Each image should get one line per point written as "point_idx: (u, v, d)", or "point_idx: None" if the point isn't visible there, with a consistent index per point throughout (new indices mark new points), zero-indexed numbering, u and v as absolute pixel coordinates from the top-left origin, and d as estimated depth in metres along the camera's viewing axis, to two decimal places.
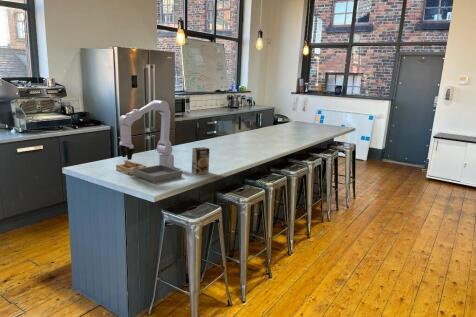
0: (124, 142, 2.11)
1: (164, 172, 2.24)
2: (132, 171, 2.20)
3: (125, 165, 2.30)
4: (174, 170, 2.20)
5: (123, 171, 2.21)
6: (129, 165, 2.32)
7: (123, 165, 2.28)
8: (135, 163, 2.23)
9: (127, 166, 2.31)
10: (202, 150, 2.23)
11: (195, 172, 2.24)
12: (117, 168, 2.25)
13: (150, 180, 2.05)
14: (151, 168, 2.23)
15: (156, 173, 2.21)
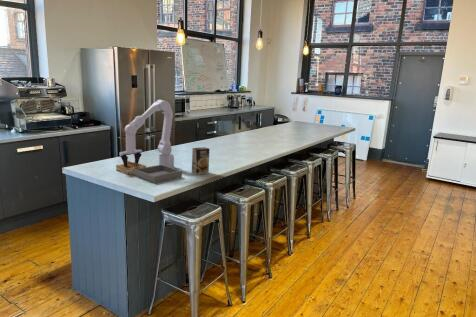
0: None
1: (164, 172, 2.24)
2: (132, 171, 2.20)
3: None
4: (174, 170, 2.20)
5: (123, 171, 2.21)
6: (129, 165, 2.32)
7: (123, 165, 2.28)
8: (135, 163, 2.23)
9: (127, 166, 2.31)
10: (202, 150, 2.23)
11: (195, 172, 2.24)
12: (117, 168, 2.25)
13: (150, 180, 2.05)
14: (151, 168, 2.23)
15: (156, 173, 2.21)
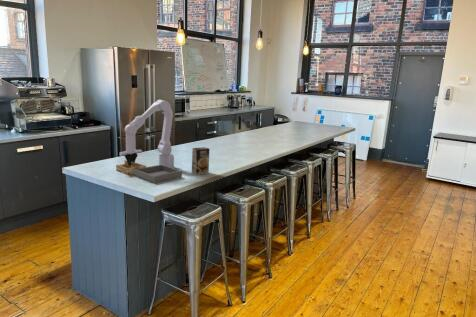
0: None
1: (164, 172, 2.24)
2: (132, 171, 2.20)
3: (125, 165, 2.30)
4: (174, 170, 2.20)
5: (123, 171, 2.21)
6: None
7: (123, 165, 2.28)
8: (135, 163, 2.23)
9: (127, 166, 2.31)
10: (202, 150, 2.23)
11: (195, 172, 2.24)
12: (117, 168, 2.25)
13: (150, 180, 2.05)
14: (151, 168, 2.23)
15: (156, 173, 2.21)
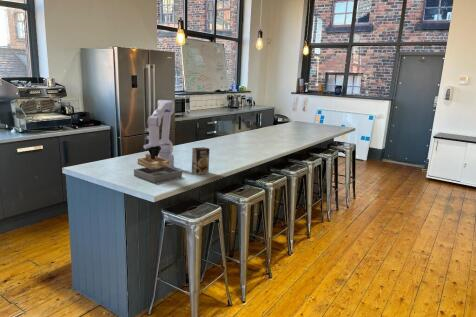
0: (149, 142, 2.13)
1: (164, 172, 2.24)
2: (156, 166, 2.11)
3: (146, 159, 2.19)
4: (174, 170, 2.20)
5: (147, 166, 2.11)
6: (150, 159, 2.21)
7: (144, 159, 2.18)
8: (159, 158, 2.13)
9: (148, 160, 2.20)
10: (202, 150, 2.23)
11: (195, 172, 2.24)
12: (139, 162, 2.14)
13: (150, 180, 2.05)
14: None
15: (156, 173, 2.21)
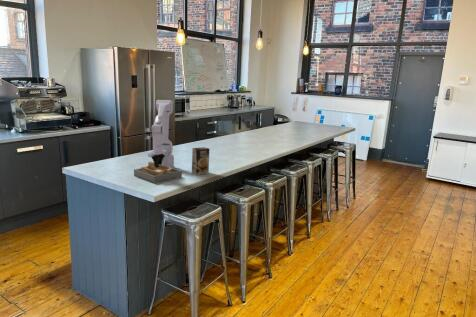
0: (153, 150, 2.13)
1: None
2: None
3: (149, 167, 2.18)
4: (174, 170, 2.20)
5: (151, 174, 2.10)
6: (152, 167, 2.21)
7: (147, 167, 2.17)
8: (163, 166, 2.14)
9: (150, 168, 2.20)
10: (202, 150, 2.23)
11: (195, 172, 2.24)
12: (143, 170, 2.13)
13: (150, 180, 2.05)
14: None
15: None
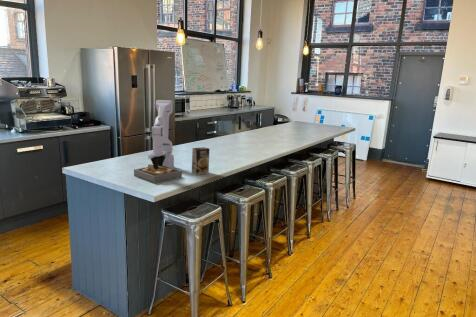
0: (153, 151, 2.13)
1: None
2: None
3: (149, 169, 2.19)
4: (174, 170, 2.20)
5: None
6: (152, 169, 2.21)
7: (147, 170, 2.17)
8: (163, 167, 2.14)
9: (150, 170, 2.20)
10: (202, 150, 2.23)
11: (195, 172, 2.24)
12: None
13: (150, 180, 2.05)
14: None
15: None
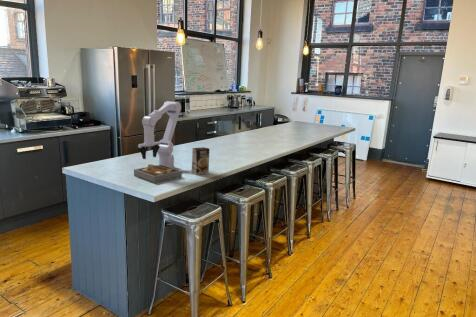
0: None
1: None
2: None
3: (149, 169, 2.19)
4: (174, 170, 2.20)
5: None
6: (152, 169, 2.21)
7: (147, 170, 2.17)
8: (163, 167, 2.14)
9: (150, 170, 2.20)
10: (202, 150, 2.23)
11: (195, 172, 2.24)
12: None
13: (150, 180, 2.05)
14: None
15: None
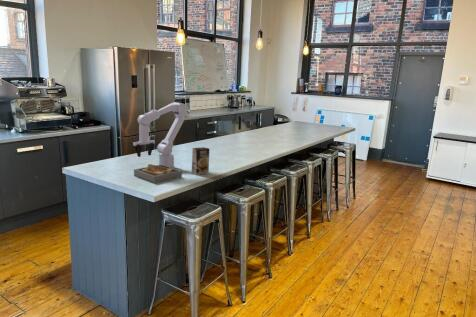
0: None
1: None
2: None
3: (149, 169, 2.19)
4: (174, 170, 2.20)
5: None
6: (152, 169, 2.21)
7: (147, 170, 2.17)
8: (163, 167, 2.14)
9: (150, 170, 2.20)
10: (202, 150, 2.23)
11: (195, 172, 2.24)
12: None
13: (150, 180, 2.05)
14: None
15: None
